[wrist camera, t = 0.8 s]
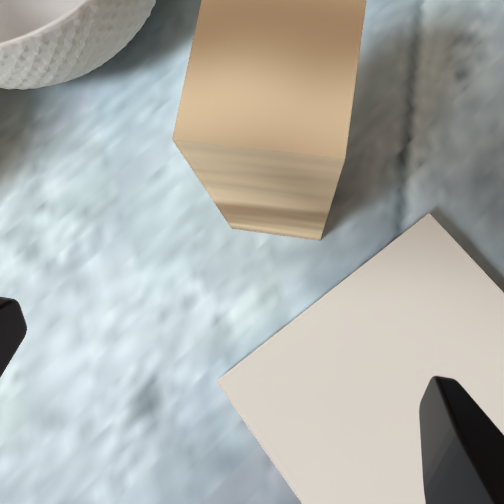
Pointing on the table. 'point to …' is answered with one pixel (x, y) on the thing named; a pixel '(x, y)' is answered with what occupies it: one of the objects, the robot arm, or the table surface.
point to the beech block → (271, 108)
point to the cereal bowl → (63, 37)
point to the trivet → (373, 370)
